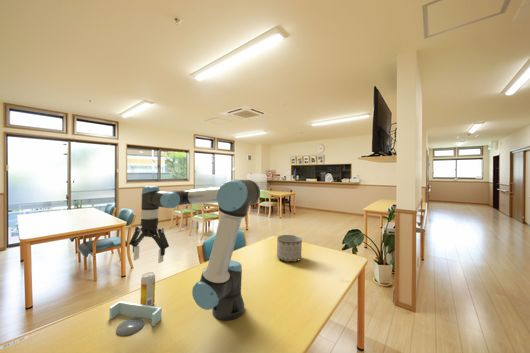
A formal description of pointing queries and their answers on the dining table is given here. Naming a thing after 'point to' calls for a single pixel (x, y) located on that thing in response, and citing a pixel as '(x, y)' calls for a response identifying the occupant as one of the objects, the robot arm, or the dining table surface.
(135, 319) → the coaster
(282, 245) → the planter
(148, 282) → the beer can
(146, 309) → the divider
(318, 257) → the dining table surface
